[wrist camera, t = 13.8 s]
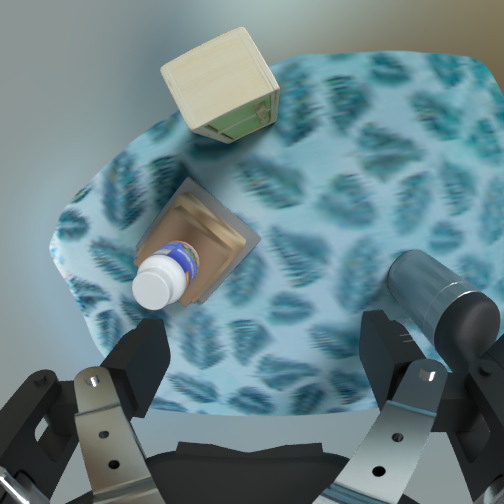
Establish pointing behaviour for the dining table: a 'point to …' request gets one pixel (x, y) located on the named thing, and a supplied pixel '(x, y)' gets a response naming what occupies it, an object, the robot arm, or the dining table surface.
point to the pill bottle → (165, 275)
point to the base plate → (220, 211)
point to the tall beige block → (224, 87)
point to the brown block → (195, 241)
